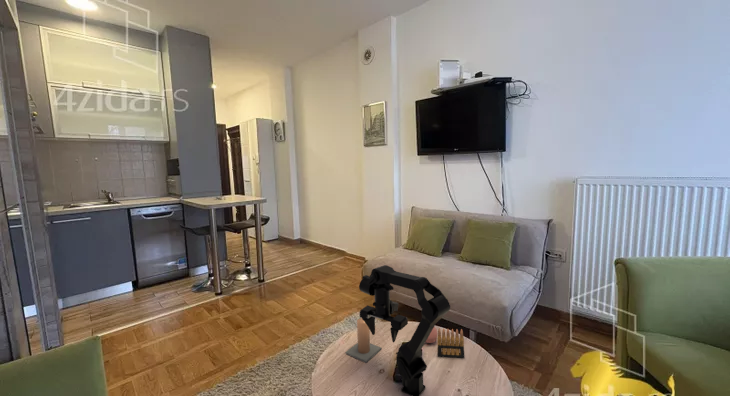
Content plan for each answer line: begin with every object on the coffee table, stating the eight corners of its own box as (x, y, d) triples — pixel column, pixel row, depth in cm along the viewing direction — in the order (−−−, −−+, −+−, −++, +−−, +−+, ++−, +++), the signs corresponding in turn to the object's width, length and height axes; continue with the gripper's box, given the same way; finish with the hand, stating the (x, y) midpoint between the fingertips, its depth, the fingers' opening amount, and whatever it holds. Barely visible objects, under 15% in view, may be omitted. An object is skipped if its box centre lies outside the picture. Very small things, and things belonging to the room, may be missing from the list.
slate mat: (381, 349, 130) (381, 347, 130) (366, 362, 121) (366, 361, 121) (361, 341, 137) (361, 339, 137) (345, 353, 128) (345, 352, 128)
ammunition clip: (437, 357, 123) (437, 329, 122) (437, 354, 125) (436, 326, 124) (464, 358, 122) (464, 330, 121) (463, 355, 123) (463, 328, 122)
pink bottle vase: (432, 335, 139) (432, 310, 138) (440, 344, 132) (440, 318, 131) (417, 338, 137) (416, 313, 136) (424, 347, 130) (424, 321, 129)
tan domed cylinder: (372, 350, 128) (371, 321, 127) (361, 355, 125) (361, 325, 124) (365, 344, 132) (365, 316, 131) (355, 348, 130) (354, 320, 128)
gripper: (414, 296, 115) (415, 335, 116) (374, 287, 126) (375, 322, 127) (399, 308, 106) (400, 350, 107) (357, 296, 117) (359, 334, 119)
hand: (383, 338), depth 115 cm, fingers open, 9 cm apart
